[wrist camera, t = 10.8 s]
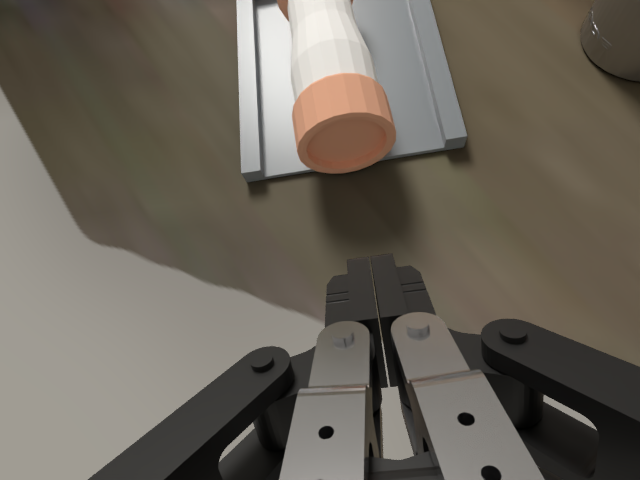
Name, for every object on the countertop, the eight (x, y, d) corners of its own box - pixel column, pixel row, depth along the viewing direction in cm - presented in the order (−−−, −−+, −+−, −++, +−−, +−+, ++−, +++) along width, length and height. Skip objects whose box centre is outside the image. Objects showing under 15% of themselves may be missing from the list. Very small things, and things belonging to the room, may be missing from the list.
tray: (415, -34, 41) (416, -50, 39) (463, 147, 33) (467, 136, 31) (241, 2, 43) (236, -11, 41) (247, 182, 35) (241, 173, 33)
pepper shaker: (314, 106, 25) (282, -83, 33) (286, 171, 32) (264, 0, 39) (415, 118, 28) (364, -60, 35) (370, 176, 34) (335, 15, 41)
